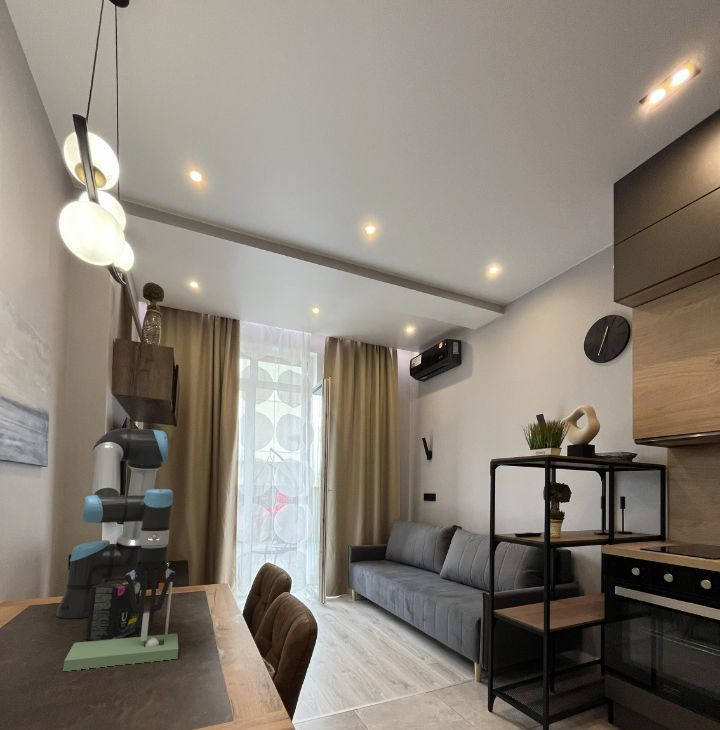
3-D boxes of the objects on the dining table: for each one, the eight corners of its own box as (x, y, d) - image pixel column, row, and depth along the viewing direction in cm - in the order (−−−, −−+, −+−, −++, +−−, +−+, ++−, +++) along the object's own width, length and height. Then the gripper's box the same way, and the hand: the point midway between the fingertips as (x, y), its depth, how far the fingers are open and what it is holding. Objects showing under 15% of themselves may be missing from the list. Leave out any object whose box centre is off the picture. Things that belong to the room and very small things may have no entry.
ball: (147, 635, 132) (160, 637, 133) (143, 649, 131) (156, 651, 132) (146, 639, 129) (160, 641, 130) (142, 653, 128) (155, 655, 129)
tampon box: (112, 643, 138) (118, 587, 141) (84, 640, 140) (91, 585, 143) (136, 631, 148) (142, 580, 152) (110, 629, 150) (116, 578, 154)
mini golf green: (72, 653, 129) (82, 586, 133) (176, 643, 139) (182, 581, 142) (62, 672, 117) (73, 597, 121) (177, 659, 126) (183, 591, 130)
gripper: (127, 548, 130) (115, 646, 124) (178, 547, 134) (169, 640, 129) (129, 545, 137) (118, 637, 131) (178, 543, 141) (169, 632, 136)
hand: (143, 639), depth 130 cm, fingers closed
